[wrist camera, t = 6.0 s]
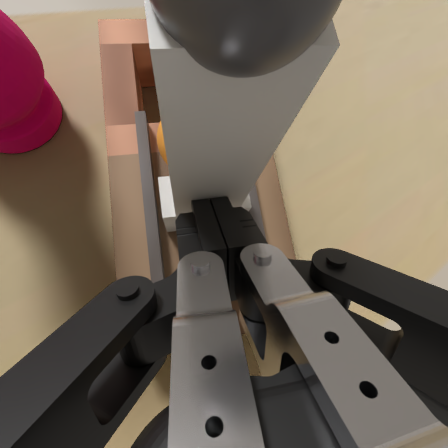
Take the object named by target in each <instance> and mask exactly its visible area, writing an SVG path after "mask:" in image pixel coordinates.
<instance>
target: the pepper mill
mask: <svg viewBox="0 0 448 448" xmlns="http://www.w3.org/2000/svg"><path fill="white" fill-rule="evenodd" d="M61 120H62V106H61V103H60V101H59V99H58V97H57V95H56V94H55V92H54V91H53V89H52V88H51V86H50V85H49V83H48V82H47V80H46V79H45V78H44V69H43V64H42V61H41V59H40V56H39V54H38V52H37V50H36V49H35V47H34V46H33V44H32V43H31V42H30V40H29V39H28V38H27V36H26V35H25V34H24V32H23V31H22V30H21V29H20V28H19V27H18V26H17V24H15V23H14V22H13V21H12V20H11V19H10V18H9V17H8V16H7V15H6V14H5V13H4V12H2V11H1V10H0V152H1V153H10V154H11V153H23V152H27V151H31V150H33V149H35V148H38V147H40V146H42V145H43V144H44V143H46V142H47V141H48V140H50V139H51V138H52V137H53V135H54V134H55V133H56V131H57V130H58V128H59V125H60V123H61Z"/></svg>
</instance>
